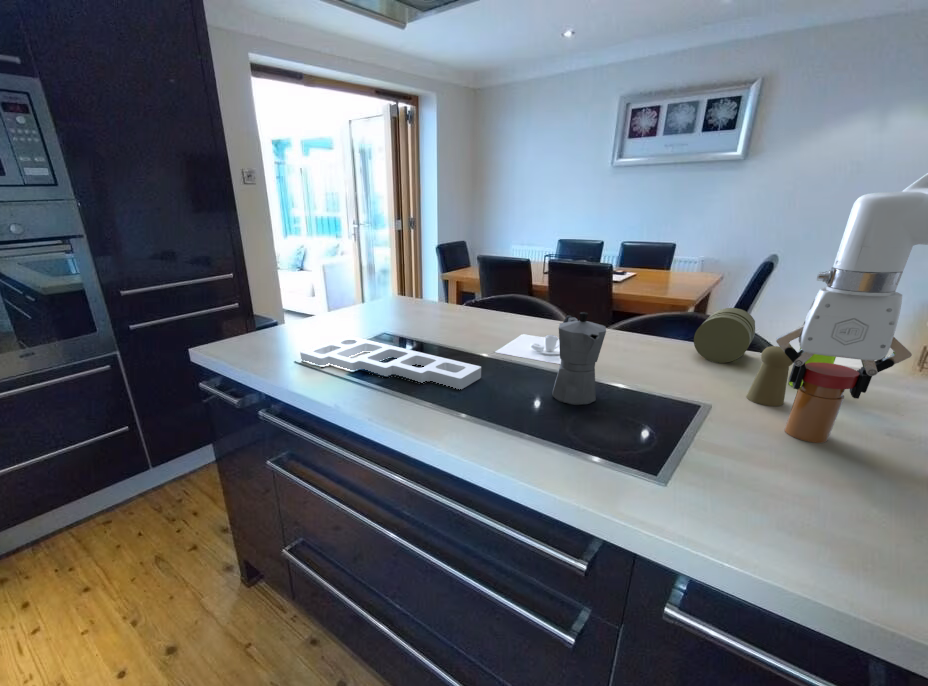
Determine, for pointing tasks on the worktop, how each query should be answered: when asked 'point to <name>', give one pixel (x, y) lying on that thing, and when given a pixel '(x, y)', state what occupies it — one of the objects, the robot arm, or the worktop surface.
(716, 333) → the piston
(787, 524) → the worktop surface
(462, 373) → the holder
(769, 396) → the cork
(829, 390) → the jam jar
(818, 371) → the jam lid
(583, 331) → the coffeepot
